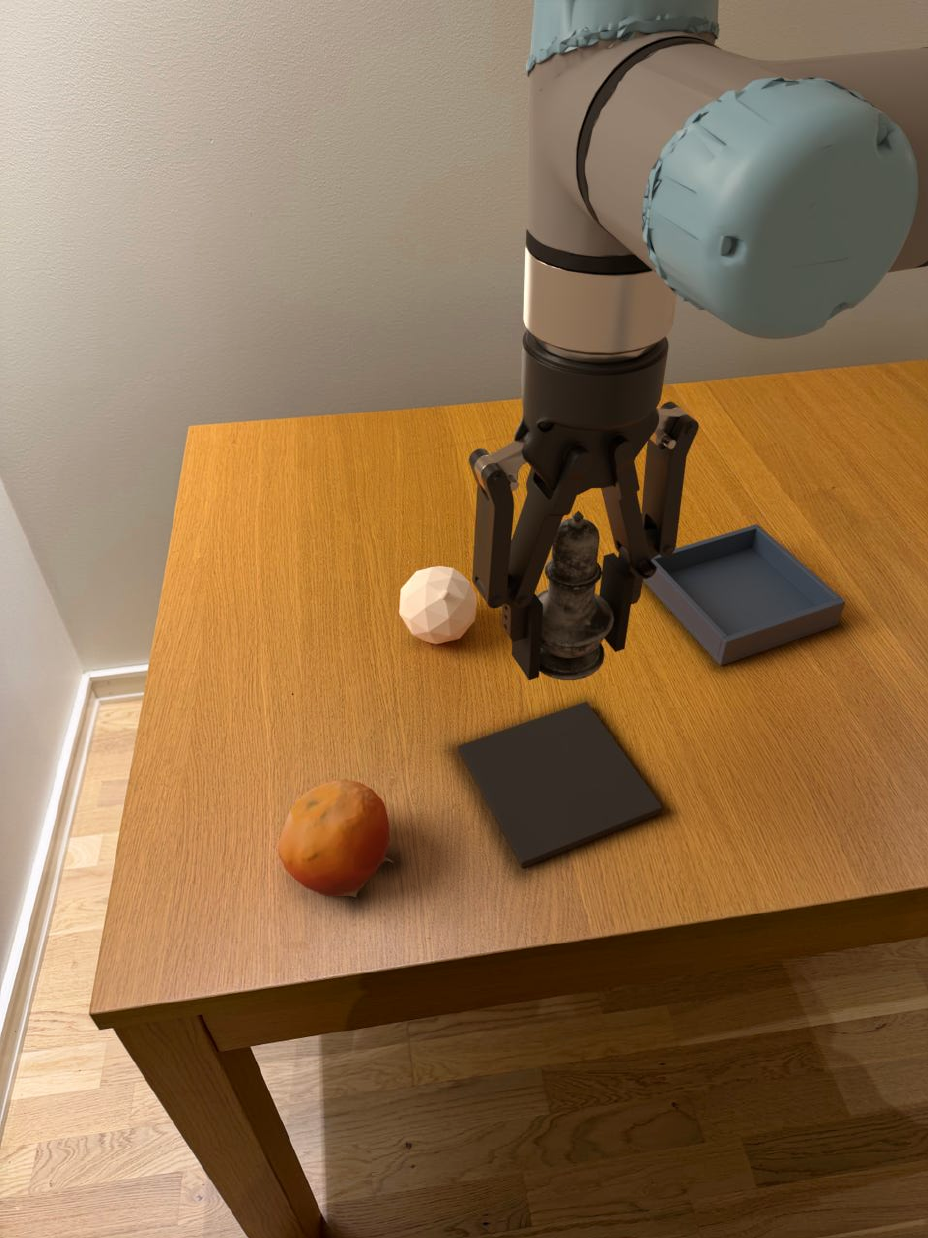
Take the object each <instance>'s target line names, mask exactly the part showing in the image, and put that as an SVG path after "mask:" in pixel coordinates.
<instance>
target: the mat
mask: <svg viewBox="0 0 928 1238" xmlns="http://www.w3.org/2000/svg"><path fill="white" fill-rule="evenodd" d="M615 740H616V739H615V738H614V737H613V735H611V733H610V732H609V730H608V729H607V727H606V726H605V725H604V723H603V722H602V721H601V719H600V718H599V717H598V715H597V713H596V712H595V711H594V710H593V708H592V707H591V706H590V704H589V703H588V701H583V702H580V703H577V704H575V705H572V706H570V707H565V708H564V709H561V710H558V711H555V712H552V713H549V714H547V715H543V716H541V717H537V718H535V719H532V720H529V721H526V722H523V723H520V724H517V725H514V726H511V727H508V728H506V729H503V730H500V731H496V732H494V733H491V734H489V735H485V736H483V737H480V738H477V739H473V740H471V741H468V742H465V743H462V744H459V745H458V748H457V749H458V751H457V752H458V754H459V755H460V757H461V759H462V761H463V763H464V764H465V766H466V768H467V770H468V772H469V774H470V775H471V777H472V779H473V782H474V783H475V785H476V786H477V789H478V791H479V792H480V795H481V796H482V798H483V800H484V801H485V803H486V805H487V808H488V809H489V811H490V812H491V814H492V816H493V818H494V820H495V821H496V824H497V825H498V827H499V829H500V831H501V833H502V834H503V836H504V838H505V840H506V842H507V843H508V846H509V847H510V849H511V851H512V853H513V855H514V857H515V858H516V860H517V862H518V864H519V866H520V868H521V869H523V868H526V867H529V866H532V865H534V864H537V863H539V862H542V861H543V860H546V859H549V858H551V857H554V856H556V855H559V854H561V853H564V852H566V851H569V850H572V849H574V848H576V847H580V846H581V845H584V844H586V843H590V842H592V841H594V840H597V839H599V838H602V837H605V836H607V835H610V834H613V833H615V832H618V831H619V830H623V829H625V828H627V827H631V826H632V825H635V824H637V823H640V822H643V821H645V820H648V819H650V818H653V817H656V816H658V815H661V814H662V813H663V805H662V804H661V803H660V801H659V800H658V799H657V797H656V796H655V794H654V792H652V790H651V789H650V788H649V786H648V784H647V783H646V782H645V780H644V779H643V778H642V777H641V775H640V774H639V772H638V771H637V769H636V768H635V766H634V765H633V764H632V762H631V761H630V760H629V758H628V756H627V755H626V754H625V752H623V749H622V748H621V747H620V746H619V744H618V743H617V742H616V741H615Z"/></svg>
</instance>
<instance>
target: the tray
mask: <svg viewBox="0 0 928 1238" xmlns="http://www.w3.org/2000/svg"><path fill="white" fill-rule="evenodd" d="M651 561H652V562H653V563H654V564H655V565H656V566H657V571H656V573H655V574H654V575H653V576H652V577H650V578H648V579H643V582H644V584H645V585H646V586H647V587H648V589H650V590H651V592H653V593H654V595H655V596H656V597H657V598H658V599H659V600H660V601H661V602H662V604H663V605H664V606H665V607H666V608H667V610H668V611H670V613H672V615H673V616H674V617H675V618H676V619H677V620H678V621H679V622H680V623H681V625H682V626H683V627H684V628H685V629H686V630H687V631H688V632H689V633H690V634H691V635H692V636H693V638H694V639H695V640H696V641H697V642H698V644H700V646H701V647H703V649H704V650H705V651H706V652H707V654H709V655H710V656H711V657H712V658H713V660H714V661H715V662H716V663H717V664H718V666H720V667H721V666H724V665H727V664H730V663H733V662H736V661H738V660H742V659H745V658H748V657H750V656H754V655H756V654H758V653H759V654H760V653H761V652H765V651H768V650H770V649H773V648H776V647H778V646H782V645H784V644H787V643H790V642H794V641H796V640H799V639H801V638H805V637H807V636H810V635H813V634H816V633H819V632H821V631H824V630H828V629H830V628H833V627H836V626H838V624H839V622H840V619H841V617H842V613H843V610H844V608H845V606H846V602H847V600H845V599H844V598H843V597H841V596H840V595H839V594H838V593H837V592H836V591H835V590H834V589H832V588H831V587H830V585H828V584H827V583H825V581H824V580H822V579H821V578H820V577H818V576H817V575H816V573H814V572H813V571H812V570H810V568H808V567H807V566H806V565H805V564H804V563H803V562H802V561H801V560H799V559H798V558H797V557H796V556H795V555H793V554H792V553H791V552H790V551H789V550H787V548H786V547H784V546H783V545H782V543H780V542H779V541H778V540H777V539H776V538H774V537H773V536H772V535H770V533H768V532H767V531H766V530H765V529H764V528H763V527H762V526H760V524H758V523H755V524H753V525H749V526H746V527H742V528H739V529H736V530H733V531H729V532H725V533H722V534H719V535H716V536H713V537H709V538H706V539H702V540H698V541H696V542H693V543H689V544H686V545H682V546H679V547H676V548H675V550H674V552H673V553H672V554H671V555H669V556H667V557H662V556H661V555H660V554H659V555H658V556H656V557H654V558H653V559H651Z"/></svg>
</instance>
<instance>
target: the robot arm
mask: <svg viewBox="0 0 928 1238" xmlns="http://www.w3.org/2000/svg"><path fill="white" fill-rule="evenodd" d="M719 3H720V1H719V0H534V2H533V13H532V24H531V25H532V26H531V36H530V37H531V38H530V49H529V50H530V51H529V58H528V59H527V61H526V64H525V70H526V76H527V77H528V118H527V167H526V168H527V170H526V176H527V177H526V217H525V218H526V221H525V222H526V223H525V228H526V230H525V251H524V282H523V283H524V285H523V286H524V287H523V289H524V290H523V318H522V320H523V323H524V326H525V328H526V330H525V332H524V334H523V335H522V343H521V344H522V345H521V347H522V348H521V350H522V351H521V377H520V379H521V380H520V382H521V383H520V385H521V386H520V395H521V405H522V406H521V407H522V415H521V416H522V417H521V420H520V423H519V425H518V426H517V428H516V430H515V432H514V436H513V441H512V442H510V443H508V444H507V445H504V446H503V447H501V448H499V449H497V450H495V451H493V452H492V453H489V451H488V450H487V449H485V448H482V447H481V448H480V447H479V448H476V449H474V450H473V451H472V452H471V454H470V455H469V456H468V463H469V467H470V470H471V472H472V474H473V478H474V480H475V482H476V501H475V502H476V503H475V517H474V519H475V520H474V521H475V522H474V535H473V536H474V537H473V538H474V539H473V556H472V575H471V582H472V584H473V585H474V586H475V589H476V590H477V591H478V593H479V594H480V596H481V597H482V599H483V600H484V601H485V603H486V604H487V606H488V608H490V609H495V610H496V609H498V608H501V609H500V617H501V618H500V624H501V626H502V628H503V630H504V631H505V633H506V634H507V636H508V637H509V639H510V640H511V656H512V657H513V660H515V662H516V663H517V665H518V667H519V668H520V669H521V671H522V672H523V674H524V675H525V677H526V678H527V680H528V681H532V680H534V679H538V678H540V671H539V669H540V652H541V634H542V617H543V604H542V602H541V601H540V600H539V598H538V597H537V596H536V595H537V594H536V593H535V592H536V591H537V588H538V586H539V582H540V580H541V577H542V575H543V572H544V570H545V566H546V564H547V562H548V558H549V555H550V553H551V551H552V545H553V542H554V540H555V537H556V534H557V532H558V529H559V526H560V524H561V522H562V521H563V518H564V517H565V516H569V515H570V514H571V512H572V510H573V507H574V504H575V503H576V499H577V497H578V496H579V495H582V494H583V493H585V492H587V491H589V490H591V489H600V490H601V496H602V499H603V502H604V503H603V504H604V507H605V511H606V515H607V520H608V522H609V523H608V524H609V529H610V532H611V536H612V539H613V544H614V548H615V550H616V552H617V553H618V555H617V554H615V552H611V553H608V554H605V555H603V559H602V567H601V569H602V575H601V578H600V585H599V594H598V595H599V596H601V597H602V598H603V599H604V600H605V601H606V602H607V603H608V604H609V606H610V607H611V609H612V611H613V616H614V621H613V625H612V628H611V630H610V631H609V633H608V634H607V635H606V637H605V638H604V639H603V640H605V642H606V643H607V644H608V645H609V647H610V648H611V649H612V650H613V652H615V653H617V652H620V651H622V650H625V648H626V642H627V635H628V628H629V621H630V614H631V608H632V605H634V604H637V603H638V602H639V600H640V598H641V595H642V588H643V582H644V581H643V579H648V578H650V577H652V576H653V575H654V574H655V573H656V571H657V566H656V565H655V564H654V563H653V562H652V561H651V559H653V558H654V557H656V556H658V555H659V554H660V555H661V556H662V557H667V556H669V555H671V554H672V553H673V552H674V550H675V549H676V548H677V539H678V532H679V522H680V515H681V507H682V498H683V490H684V481H685V474H686V466H687V458H688V457H687V456H688V454H689V452H690V450H691V447H692V445H693V443H694V441H695V438H696V436H697V434H698V431H699V427H700V424H699V422H698V421H697V419H695V418H693V417H692V416H691V415H690V414H689V413H688V412H686V411H685V410H684V409H682V408H681V406H679V405H677V404H676V403H675V402H673V401H667V402H664V403H663V404H662V405H661V406H660V408H659V407H658V406H659V404H660V402H661V400H662V395H663V388H664V382H665V373H666V367H667V361H668V355H669V347H670V346H669V340H668V338H667V336H668V335H669V333H670V331H671V330H672V327H673V325H674V320H675V312H676V304H677V296H678V297H679V299H681V300H682V302H689V303H690V304H691V305H692V306H693V307H695V308H696V309H697V310H698V311H706V312H708V313H709V314H711V315H713V316H714V317H716V318H717V319H719V320H721V321H722V322H723V323H725V324H726V325H728V326H730V327H731V328H732V329H734V330H736V331H738V332H740V333H743V334H745V335H748V336H751V337H755V338H758V339H767V340H783V339H784V340H785V339H794V338H797V337H798V338H799V337H801V336H805V335H809V334H811V333H814V332H816V331H818V330H820V329H823V328H824V327H825V326H826V325H827V323H828V321H829V320H832V319H833V318H834V317H836V316H837V315H839V314H840V313H842V312H843V311H846V310H849V309H854V308H855V307H856V306H859V304H861V302H864V300H865V299H866V298H867V297H869V296H870V294H871V293H872V292H873V291H874V290H875V289H876V288H877V286H878V285H879V284H880V283H881V282H882V280H883V279H884V278H885V276H886V275H887V274H888V273H895V272H900V271H906V270H907V271H908V270H912V269H919V268H926V267H928V46H925V47H919V48H918V47H917V48H906V49H895V50H883V51H871V52H860V53H859V52H858V53H848V54H838V55H837V54H835V55H827V56H816V57H805V58H796V59H785V60H784V59H782V60H768V59H757V58H751V57H748V56H745V55H743V54H738V53H735V52H732V51H728V50H726V49H722V48H721V47H719V46H717V45H716V40H719V36H720V30H721V29H720V24H719ZM645 446H646V451H645V464H644V476H643V488H642V489H643V490H642V500H641V505H640V500H639V495H638V492H639V491H640V489H641V488H640V482H639V478H638V473H637V467H636V463H635V461H636V458H637V457H638V456H639V454H640V453H641V452H642V450H643V449H644V447H645ZM525 464H527V465H528V466H529V467H530V468H529V472H528V475H527V478H526V481H525V488H526V496H525V499H524V503H523V506H522V508H521V512H520V513H519V517H518V519H517V523H516V526H515V529H514V532H513V526H514V524H513V523H514V517H515V516H514V515H515V499H514V494H513V492H515V491H516V490H518V488H519V486H520V484H519V482H518V480H519V472H520V470H521V468H522V467H523V465H525Z"/></svg>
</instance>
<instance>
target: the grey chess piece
mask: <svg viewBox="0 0 928 1238" xmlns="http://www.w3.org/2000/svg"><path fill="white" fill-rule="evenodd" d="M584 517H585V516H584V514H582V512H581V511H580V510H577V511H576V512H574V514H572V517H571V518H570V517H569V518H566V519H563V520H562V521H561V524H560V526H559V529H558V532H557V534H556V537H555V540H554V542H553V545H552V548H551V558H550V559H549V560H547V562H546V564H545V567H544V575H545V577H546V578H547V580H548V587H547V588H548V589H545V590H542V591H540V592H539V593H538V594H536V596H537V597H538V598H539V600H540V601H541V602H542V604H543V617H542V634H541V652H540V669H539V673H541V674H543V675H544V676H547V677H549V678H552V679H555V680H560V681H577V680H582V679H585V678H588V677H591V676H593V675H594V674H595V673H596V672H597V671H599V670H600V668H601V667H602V665H603V664H604V660H605V655H606V654H605V648H604V646H603V644H602V643H603V641H604V640H605V639H604V638H605V637H606V635H607V634H608V633H609V631H610V630H611V628H612V625H613V621H614V616H613V611H612V609H611V607H610V606H609V604H608V603H607V602H606V601H605V600H604V599H603V598H602V597H601V596H599V594H597V593H596V586H597V583H598V582H599V581H601V576H602V567H601V565H600V563H599V562H598V558H599V557H598V556H599V547H600V539H601V538H600V532H599V529H598V526H596V525H595V524H594V523H593V521H591V520H588V519H585V518H584Z"/></svg>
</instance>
